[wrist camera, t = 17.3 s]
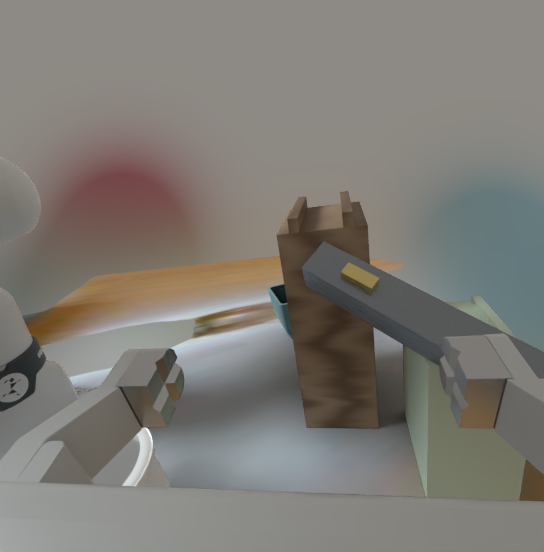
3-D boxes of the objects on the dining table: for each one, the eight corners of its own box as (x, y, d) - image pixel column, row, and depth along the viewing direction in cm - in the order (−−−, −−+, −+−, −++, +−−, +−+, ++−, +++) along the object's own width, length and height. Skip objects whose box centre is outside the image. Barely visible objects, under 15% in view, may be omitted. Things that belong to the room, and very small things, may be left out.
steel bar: (544, 379, 26) (574, 361, 22) (525, 418, 25) (554, 406, 21) (326, 261, 35) (323, 236, 32) (305, 286, 34) (300, 263, 31)
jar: (167, 507, 37) (125, 398, 32) (220, 587, 30) (175, 462, 24) (61, 594, 31) (-14, 478, 26) (93, 722, 24) (-4, 597, 18)
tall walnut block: (306, 427, 44) (274, 220, 34) (312, 368, 55) (288, 198, 45) (378, 428, 43) (366, 209, 33) (369, 367, 53) (358, 189, 43)
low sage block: (426, 501, 34) (428, 367, 28) (404, 410, 45) (401, 300, 39) (518, 506, 32) (540, 364, 26) (471, 410, 43) (479, 295, 37)
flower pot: (332, 336, 63) (327, 292, 60) (287, 349, 62) (279, 305, 58) (314, 316, 71) (309, 276, 68) (274, 327, 70) (267, 287, 66)
